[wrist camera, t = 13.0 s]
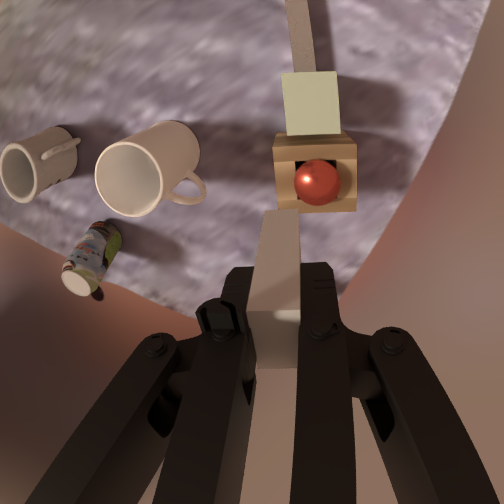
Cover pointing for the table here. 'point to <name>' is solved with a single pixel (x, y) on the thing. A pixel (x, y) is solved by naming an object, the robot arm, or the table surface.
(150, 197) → the mug
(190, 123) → the table surface
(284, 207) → the wooden boxy piece
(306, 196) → the plunger
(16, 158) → the mug
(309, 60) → the rail
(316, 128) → the block
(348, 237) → the table surface
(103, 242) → the beverage can
